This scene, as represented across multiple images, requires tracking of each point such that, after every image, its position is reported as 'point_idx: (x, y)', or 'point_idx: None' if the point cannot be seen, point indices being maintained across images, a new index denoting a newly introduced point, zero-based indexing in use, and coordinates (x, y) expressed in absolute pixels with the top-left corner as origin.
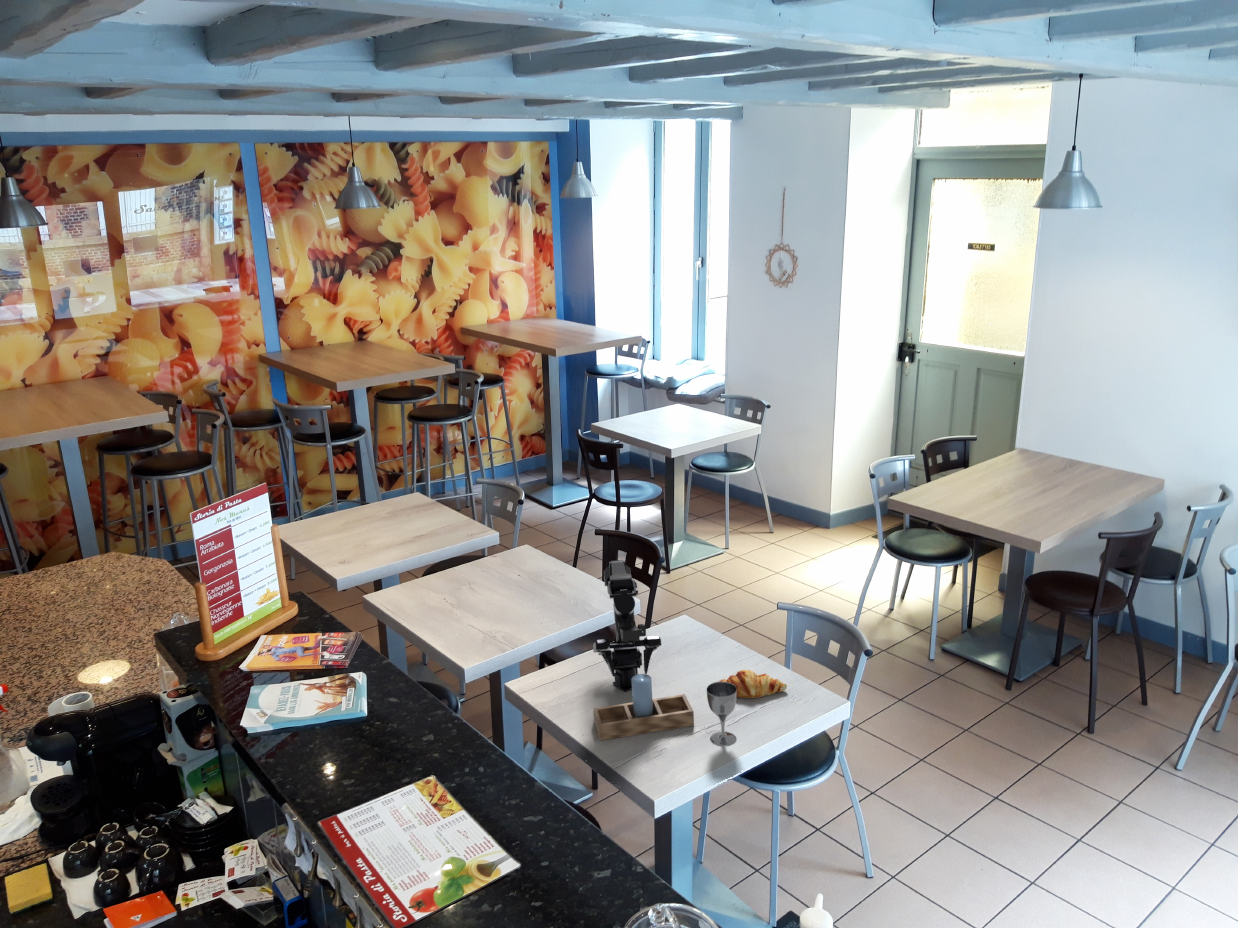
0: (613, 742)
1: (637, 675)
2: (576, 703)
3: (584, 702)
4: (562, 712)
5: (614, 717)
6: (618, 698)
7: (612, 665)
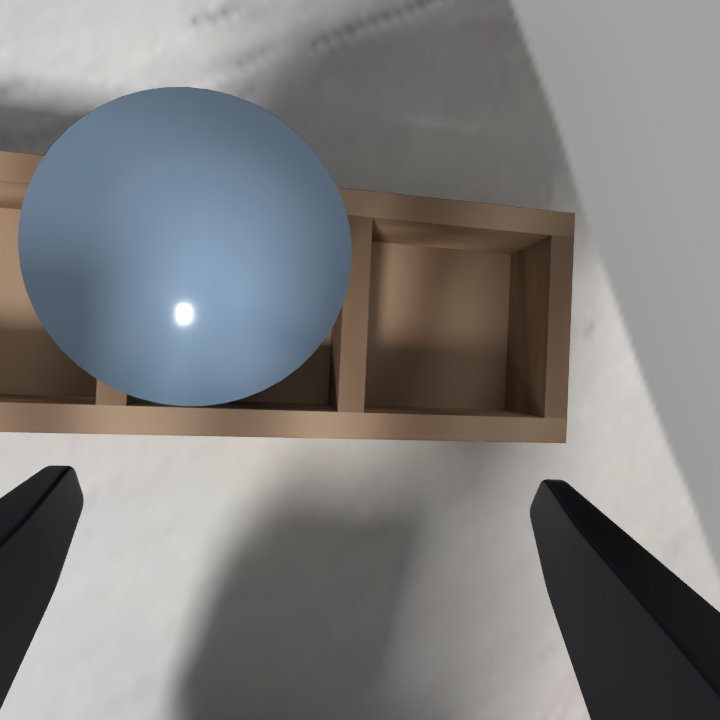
0: (458, 196)
1: (225, 375)
2: (563, 659)
3: (521, 659)
4: None
5: (411, 406)
6: (322, 657)
7: (658, 599)
